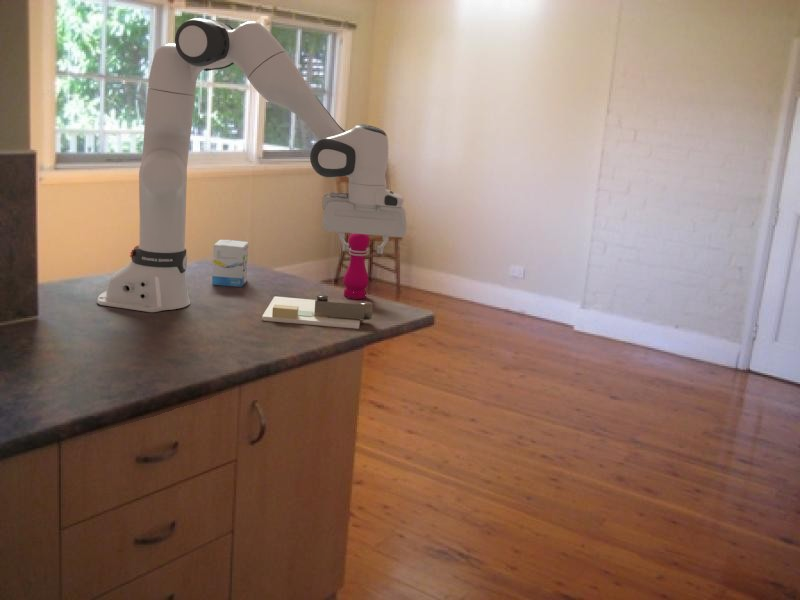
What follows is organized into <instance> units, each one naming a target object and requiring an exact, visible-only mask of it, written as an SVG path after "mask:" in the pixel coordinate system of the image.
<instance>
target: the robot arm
mask: <svg viewBox="0 0 800 600" xmlns="http://www.w3.org/2000/svg"><path fill="white" fill-rule="evenodd" d="M233 65H236V66H237V67H238V68H239V69H240V70H241V72H242V73H243V74H244V76H245V77H246V79H247V80H248V82H249V83H250V85H252V87H253V88H254V89H255V91H256V92H257V93H259V95H260V96H261V97H262V98H264V99H265V100H266V101H267V102H268V103H270V104H273V105H276V106H279V107H280V108H283V109H286V110H288V111H290V112H291V113H293V114H295V116H297V117H298V118H299V120H301V121H302V122H303V123H304V125H305V126H306V127H307V128H308V130H309V131H310V133H312V135H313V136H314V137H315V138H316V140H317V142H315V143H314V144H313V146H312V148H311V150H310V153H309V159H310V161H309V162H310V165H311V167H312V169H313V170H314V172H316V173H317V174H318V175H320V176H321V177H325V178H329V179H334V178H340V177H347V178H348V192H346V193H345V192H333V191H332V192H331V191H330V192H328V193H326V194H324V196H323V197H322V201H321V202H322V203H321V205H322V207H321V208H322V209H323V210H324V211H323V216H322V223H321V228H322V229H323V231H324V232H332V233H338V239H339V241H340V243H341V244H342V247H341V248H342V252H350V250H349V249H350V248H349V247H350V245H349V243H348V242H347V241H346V240H345V235H346V234H352V233H355V234H367V235H368V236H370V235H371V236H379V237H380V236H381V237H382V243H381V245H376V255H377V254H378V255H383V254H384V248H385V246H386V245H387V243H388V242H389V237H392V238H393V237H394V238H404V236H406V234H407V213H406V210H405V207H404V206H403V205H404V202H405V200H404V196H403V195H402V194H399V193H397V192H395V191H393V190H390V189H387V180H386V179H387V178H386V172H387V169H388V166H389V165H388V164H389V139H388V135H387V133H386V132H385V131H384V130H383V129H382V128H379V127H376V126H373V125H369V124H362V123H361V124H360V123H359V124H357V125H355V126H354V127H352V128H351V129H349V130H345V129H343V127H341V125H339V123H338V122H337V121H336V120H335V119H334V117H333V116H332V115H331V113H330V112H329V111H328V109H327V108H326V107H325V106H324V104H323V103H322V102H321V101H320V100H319V99H318V97H317V95H316V94H315V93H313V90H312V89H311V87H310V86H309V85H308V82H306V80H305V78H304V77H303V75H302V74H301V72H300V70H299V69H298V67H297V65H296V64H295V62H294V61H293V60H292V58H291V57H290V55H289V54H288V52H287V51H286V50H285V48H284V47H283V46H282V44H281V43H280V42H279V41H278V40H277V38H275V36H274V35H273V34H272V33H271V32H270V31H269V30H268V29H267V28H266V27H265V26H264V25H262V23H259V22H257V21H252V20H251V21H246V22H244V23H241V24H239V25H237V27H235V28H233V27H232V26H230V25H229V24H227V23H223V22H220V21H219V20H214V19H205V18H201V17H198V18H197V17H196V18H192V19H188V20H186V21H184V22H183V23H182V24H181V25H180V26H179V27H178V28H177V30H176V32H175V36H174V43H165V44H163V45H160V46H159V47H158V48H157V49H156V51H155V52H154V56H153V58H152V62H151V66H150V72H149V77H148V84H147V94H146V103H145V104H146V105H145V113H144V114H145V116H144V129H143V140H142V141H143V144H142V152H141V153H142V155H141V156H142V157H141V164H140V166H139V169H138V170H139V172H138V188H139V189H138V195H139V199H138V200H139V201H138V202H139V237H138V238H139V244H137V245H136V246H134V247H133V249H132V250H131V252H129V254H130V255H129V257H130V258H131V259H130V260H131V261H130V262H128V263H127V264H126V265H125V266H123V267H122V268H120V269H119V270H117V271H116V272H114V273H113V274H112V275H111V276H110V278H109V280H108V283H107V287H106V290H105V291H104V292H102V293H100V294H99V295H98V296H97V304H98V305H100V306H105V307H106V306H107V307H113V308H119V309H125V310H133V311H139V312H140V311H141V312H147V313H157V312H161V311H168V310H171V311H172V310H176V309H177V310H178V309H182V308H185V307H188V306H189V305H190V304H191V301H190V298H189V293H188V288H187V280H186V270H187V266H188V265H187V264H188V256H187V249H186V248H185V247H186V221H187V220H186V216H187V215H186V213H187V212H186V211H187V210H186V209H187V187H188V186H187V182H188V180H187V177H188V174H187V173H188V162H189V151H190V144H191V143H190V142H191V136H192V135H191V134H192V127H193V117H194V110H195V109H194V107H195V99H196V98H195V97H196V87H197V81H198V80H197V79H198V76H199V75H200V73H201V72H202V71H206V72H211V71H216V70H223V69H227V68H229V67H231V66H233Z"/></svg>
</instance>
